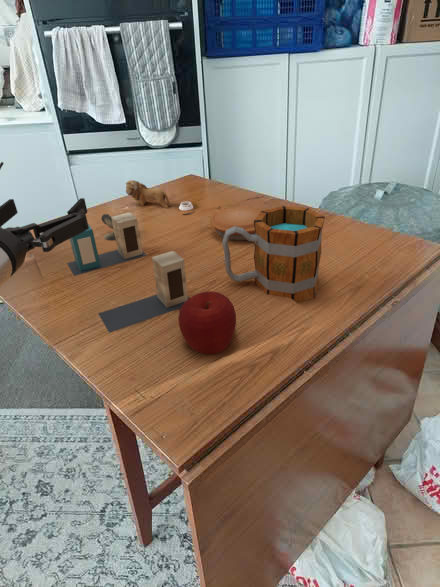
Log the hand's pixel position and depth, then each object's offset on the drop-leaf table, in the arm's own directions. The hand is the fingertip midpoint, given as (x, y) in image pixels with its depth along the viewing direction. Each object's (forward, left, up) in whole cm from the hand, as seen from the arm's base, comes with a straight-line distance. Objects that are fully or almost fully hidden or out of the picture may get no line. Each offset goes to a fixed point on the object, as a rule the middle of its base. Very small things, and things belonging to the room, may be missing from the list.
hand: (48, 205), depth 80 cm
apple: (+31, +16, -20) cm, 40 cm away
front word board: (+16, +11, -19) cm, 27 cm away
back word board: (-8, +10, -19) cm, 23 cm away
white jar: (-26, +39, -20) cm, 51 cm away
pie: (-6, +45, -20) cm, 50 cm away
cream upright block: (+16, +16, -18) cm, 29 cm away
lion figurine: (-34, +31, -20) cm, 50 cm away
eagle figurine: (-20, +16, -20) cm, 32 cm away
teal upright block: (-8, +6, -18) cm, 20 cm away
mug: (+21, +36, -20) cm, 46 cm away
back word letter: (-8, +16, -18) cm, 25 cm away
